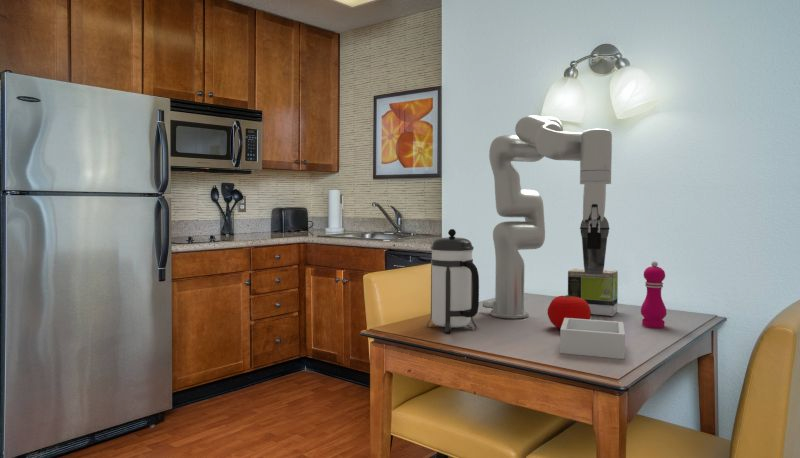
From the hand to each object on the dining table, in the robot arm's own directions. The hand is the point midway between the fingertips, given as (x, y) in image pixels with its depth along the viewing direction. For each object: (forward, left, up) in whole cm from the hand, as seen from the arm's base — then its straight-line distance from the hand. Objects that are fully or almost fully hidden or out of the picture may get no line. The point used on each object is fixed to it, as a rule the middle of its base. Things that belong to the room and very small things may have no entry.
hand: (594, 247), depth 139 cm
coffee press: (-39, +9, -27) cm, 48 cm away
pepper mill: (+17, +35, -27) cm, 47 cm away
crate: (0, 0, -26) cm, 26 cm away
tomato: (-7, +21, -27) cm, 34 cm away
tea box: (-1, +51, -27) cm, 57 cm away
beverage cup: (0, 0, -7) cm, 7 cm away
